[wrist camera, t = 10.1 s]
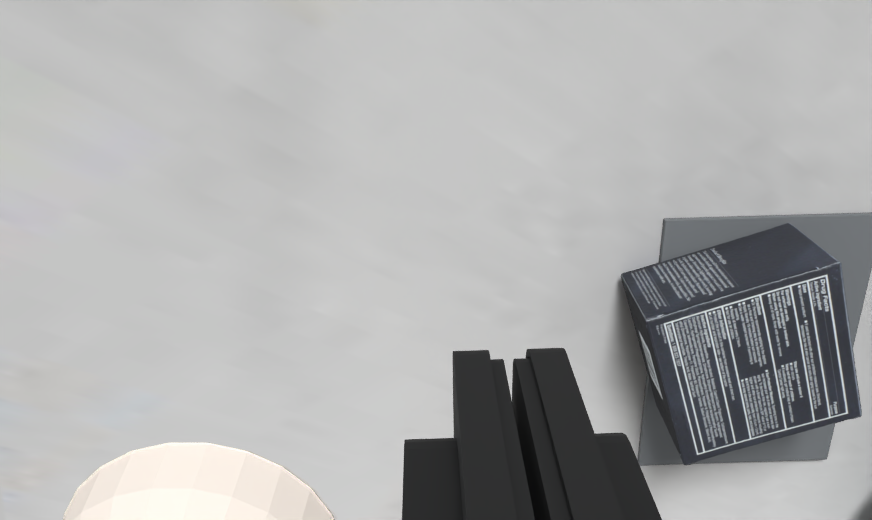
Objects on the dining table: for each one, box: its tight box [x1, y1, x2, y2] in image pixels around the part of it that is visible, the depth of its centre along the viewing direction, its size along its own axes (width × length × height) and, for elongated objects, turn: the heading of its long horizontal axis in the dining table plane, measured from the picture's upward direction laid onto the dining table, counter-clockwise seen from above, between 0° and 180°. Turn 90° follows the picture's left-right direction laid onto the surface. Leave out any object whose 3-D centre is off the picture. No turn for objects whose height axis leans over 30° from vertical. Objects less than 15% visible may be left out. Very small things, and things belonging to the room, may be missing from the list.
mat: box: [638, 213, 872, 465], centre depth 48 cm, size 13×18×1 cm
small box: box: [621, 223, 862, 465], centre depth 44 cm, size 11×6×10 cm
